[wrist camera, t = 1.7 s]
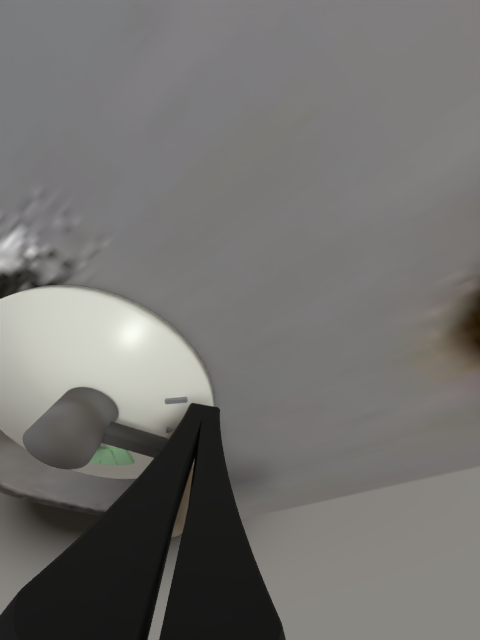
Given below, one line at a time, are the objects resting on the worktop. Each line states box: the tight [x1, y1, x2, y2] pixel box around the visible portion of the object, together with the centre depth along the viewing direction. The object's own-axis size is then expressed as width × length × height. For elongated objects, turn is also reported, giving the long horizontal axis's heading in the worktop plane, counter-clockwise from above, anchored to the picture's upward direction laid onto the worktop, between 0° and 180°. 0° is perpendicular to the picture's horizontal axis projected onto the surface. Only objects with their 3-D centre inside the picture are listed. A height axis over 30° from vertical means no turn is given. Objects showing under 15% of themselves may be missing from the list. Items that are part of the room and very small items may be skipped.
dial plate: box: [0, 285, 215, 479], centre depth 15 cm, size 16×16×1 cm
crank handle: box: [23, 387, 195, 537], centre depth 13 cm, size 10×4×5 cm, turn 68°
